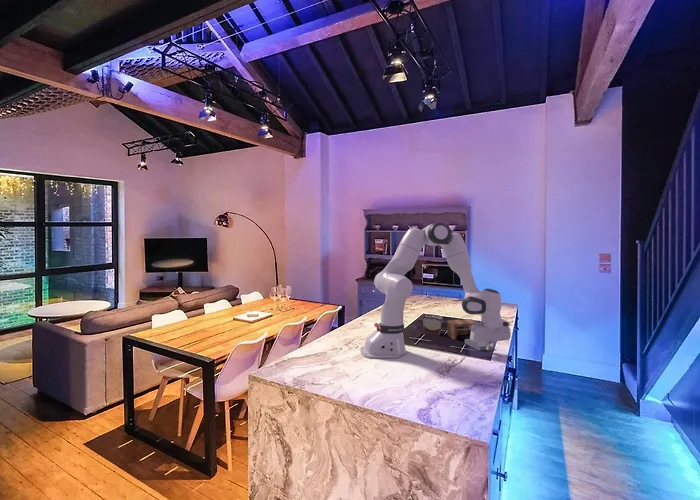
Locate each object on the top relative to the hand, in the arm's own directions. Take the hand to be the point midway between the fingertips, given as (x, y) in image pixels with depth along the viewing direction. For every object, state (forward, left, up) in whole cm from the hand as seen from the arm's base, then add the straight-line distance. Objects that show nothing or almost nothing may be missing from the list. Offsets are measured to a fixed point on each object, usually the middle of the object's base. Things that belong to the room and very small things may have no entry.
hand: (489, 349), depth 179 cm
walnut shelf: (0, +26, -2) cm, 26 cm away
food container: (-13, +36, -2) cm, 39 cm away
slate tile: (0, +10, -2) cm, 10 cm away
